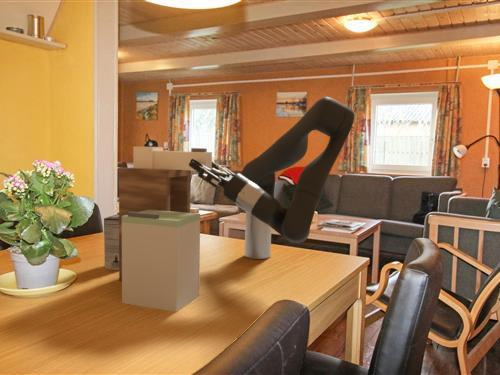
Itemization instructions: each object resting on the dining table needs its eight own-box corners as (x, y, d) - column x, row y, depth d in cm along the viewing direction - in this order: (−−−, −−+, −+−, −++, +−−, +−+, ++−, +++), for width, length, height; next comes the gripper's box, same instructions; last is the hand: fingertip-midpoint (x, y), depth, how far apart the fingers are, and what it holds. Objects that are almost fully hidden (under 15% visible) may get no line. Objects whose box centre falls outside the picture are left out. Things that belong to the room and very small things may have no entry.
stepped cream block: (145, 167, 128) (145, 146, 128) (213, 170, 121) (213, 148, 120) (133, 167, 123) (133, 146, 122) (203, 171, 115) (204, 148, 115)
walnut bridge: (146, 268, 136) (146, 166, 133) (189, 274, 131) (190, 168, 128) (119, 281, 123) (118, 168, 120) (165, 287, 118) (166, 170, 115)
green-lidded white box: (149, 288, 117) (149, 205, 115) (199, 295, 112) (200, 209, 110) (122, 302, 106) (121, 211, 104) (176, 312, 101) (177, 216, 99)
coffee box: (118, 261, 143) (118, 213, 141) (136, 263, 142) (136, 214, 140) (103, 269, 134) (103, 217, 132) (122, 270, 133) (122, 219, 131)
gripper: (260, 180, 121) (214, 149, 125) (242, 183, 108) (192, 149, 111) (246, 202, 123) (202, 171, 127) (228, 208, 110) (179, 174, 113)
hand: (197, 161), depth 119 cm, fingers open, 8 cm apart
